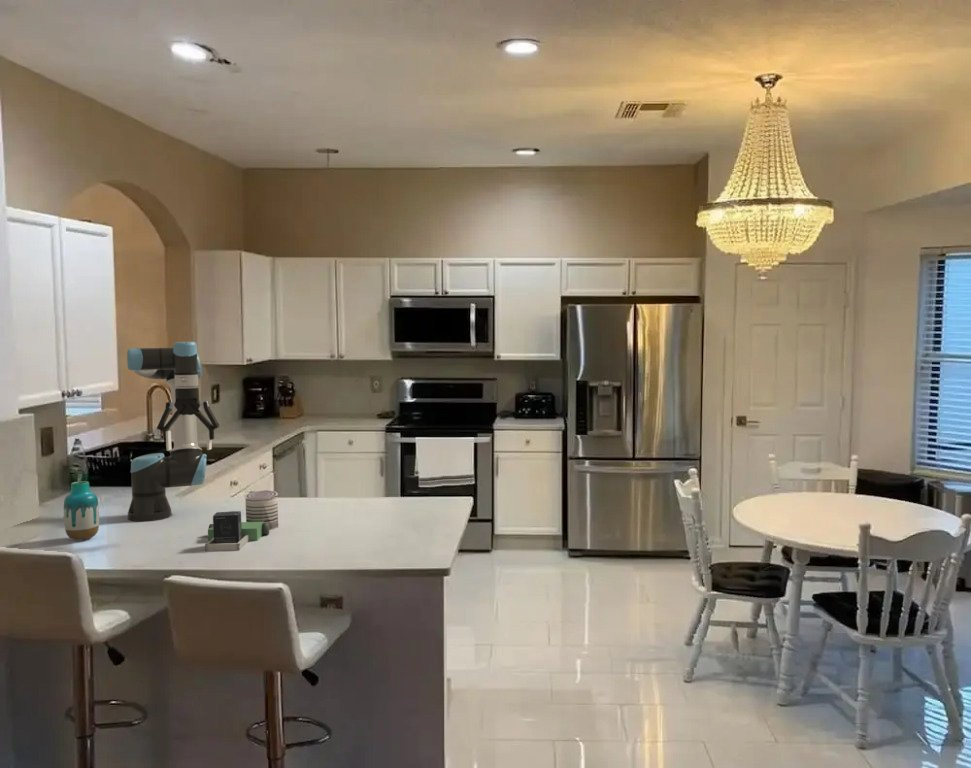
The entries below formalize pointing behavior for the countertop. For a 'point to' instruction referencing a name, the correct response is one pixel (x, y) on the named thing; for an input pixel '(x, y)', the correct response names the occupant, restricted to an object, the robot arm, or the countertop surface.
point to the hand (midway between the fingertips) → (189, 450)
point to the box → (227, 527)
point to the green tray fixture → (249, 533)
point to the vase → (81, 512)
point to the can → (262, 507)
